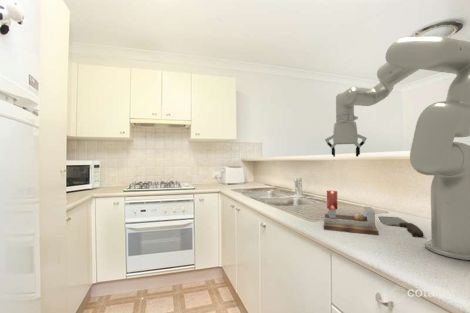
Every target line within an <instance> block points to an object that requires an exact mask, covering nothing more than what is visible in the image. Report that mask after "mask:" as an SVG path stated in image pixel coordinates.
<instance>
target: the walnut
mask: <svg viewBox="0 0 470 313" xmlns="http://www.w3.org/2000/svg"><path fill="white" fill-rule="evenodd" d="M354 220H355V221H365V217H364V214H363V213H355V214H354Z"/></svg>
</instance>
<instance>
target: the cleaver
mask: <svg viewBox="0 0 470 313" xmlns="http://www.w3.org/2000/svg"><path fill="white" fill-rule="evenodd" d="M378 218H379V220H380V221H379V220H378V221H379V222H380V223H382V224H383V225H384V226H385V225H386V226H388V227H389V226H390V227H399V228H404V229H405V228H406V230H407V232H408V233H410V234H411V236H412V237H414V238H423V237H424V232H423V230H421V228H419V227H418V226H417V225H415V224H414V223H412V222H408V221H406V220H404V218H403V219H402V218H401V217H398V216H382V215H380V216H377V219H378Z"/></svg>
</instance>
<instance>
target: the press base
mask: <svg viewBox="0 0 470 313" xmlns="http://www.w3.org/2000/svg"><path fill="white" fill-rule="evenodd" d="M323 230H324V231H325V230H326V231H336V232H344V233H354V234H363V235H373V236H379V234H380V233H379V230H378V228H377V226H376V225H375V228H369V227H368V228H365V227H354V226H344V225H333V224H324V223H323Z"/></svg>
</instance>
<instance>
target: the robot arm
mask: <svg viewBox="0 0 470 313" xmlns="http://www.w3.org/2000/svg"><path fill="white" fill-rule="evenodd" d="M385 61H386V62H385V63H384V64H383V65H381V66H380V67H379V68H378V70H377V72H376V76H377V79H378V81H379V83H378V84H376V85H375V86H373V87H370V88H368V87H367V88H366V87H359V86H358V87H357V86H352V87H349V88H347V89H346V90H345V91H343V92H340V93H338V94H336V97H335V120H336V122H334V125H333V131H332V132H333V135H331V136H329V137H327V138H325V139H324V140H325V142H326V144H327V146H329V147H330V148H331V155H332V156H333V157H336V148H335V147H336V146H337V145H354V146H355V147H356V148H355V157H359V155H361V147H362V146H363V145H364V144H365V143H366V141H367V139H368V138H367V137H366V136H363V135H361V134H359V133H358V127H357V122H356V121H355V120H358V119H359V117H358V116H355V106H360V107H371V106H373V105H377V103H380V102H381V101H384V99H386V98H387V97H388V96H389V95H390V94H391V93H392V91H393V89H394V86H395V85H398V83H400V82H401V81H403V80H405V79H406V78H408V77H410V76H411V75H413V74H415V73H416V72H418V71H419V70H424V71H429V72H430V71H431V72H438V73H447V74H454V75H456V76H455V77H454V79H453V80H452V81H451V83H450V85H449V87H448V90H447V95H446V100H445V101H442V100H441V101H437V102H433V103H431V104H429V105H427V107H425V108H424V109H423V111H421V113H420V114H419V117H418V118H417V121H416V125H415V129H414V134H413V137H412V143H411V148H410V152H409V162H410V164H411V165H410V166H411V167H412V168H413V170H414V171H416V172H417V173H419V174H421V175H425V176H433V178H432V181H431V184H430V221H431V222H430V223H431V224H430V226H431V227H430V228H431V230H430V232H431V240H427V241H425V242H424V246H425V248H426V249H427V250H428V251H431V252H433V253H435V254H438V255H441V256H444V257H449V258H451V259H452V258H453V259H457V260H464V261H470V145H469V144H467V143H463V142H459V141H458V142H457V141H454V140H455V138H469V137H470V41H467V40H463V39H462V40H461V39H458V38H457V39H455V38H451V37H445V36H416V37H415V36H411V37H410V36H407V37H401V38H399V39H397V40H395V41H394V42H392V43H391V44H390V45H389V47H388V49H387V51H386V52H385ZM358 139H361V141H360V143H359V142H358ZM331 140H333V144H332V143H331V142H330V141H331Z"/></svg>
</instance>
